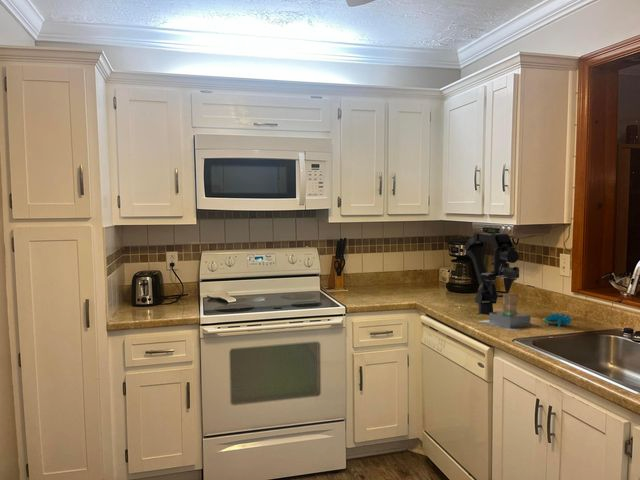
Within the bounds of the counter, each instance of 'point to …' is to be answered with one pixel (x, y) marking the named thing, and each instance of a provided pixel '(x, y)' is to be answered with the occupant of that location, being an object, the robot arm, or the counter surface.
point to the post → (510, 304)
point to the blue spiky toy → (557, 319)
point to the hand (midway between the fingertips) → (499, 293)
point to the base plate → (505, 328)
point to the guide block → (509, 319)
